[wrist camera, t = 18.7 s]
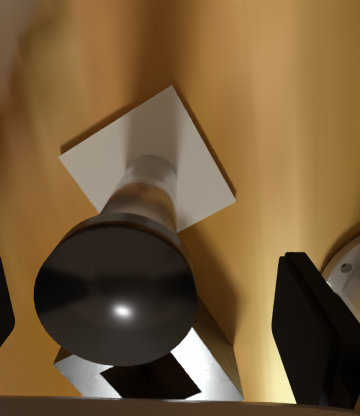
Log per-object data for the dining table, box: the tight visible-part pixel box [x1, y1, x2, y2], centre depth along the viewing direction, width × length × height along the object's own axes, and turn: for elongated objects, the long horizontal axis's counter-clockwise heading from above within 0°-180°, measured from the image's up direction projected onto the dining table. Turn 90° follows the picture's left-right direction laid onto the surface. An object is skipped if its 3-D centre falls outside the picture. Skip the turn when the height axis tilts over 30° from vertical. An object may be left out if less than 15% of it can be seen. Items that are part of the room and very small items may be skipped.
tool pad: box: [58, 85, 236, 233], centre depth 22 cm, size 9×9×1 cm
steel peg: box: [34, 155, 197, 366], centre depth 15 cm, size 5×5×13 cm
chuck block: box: [53, 295, 244, 401], centre depth 25 cm, size 10×10×5 cm
